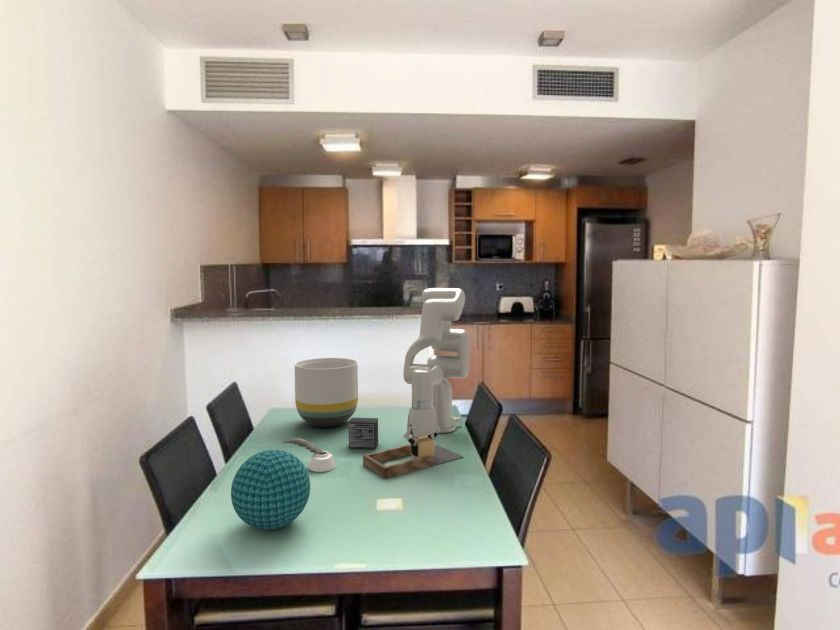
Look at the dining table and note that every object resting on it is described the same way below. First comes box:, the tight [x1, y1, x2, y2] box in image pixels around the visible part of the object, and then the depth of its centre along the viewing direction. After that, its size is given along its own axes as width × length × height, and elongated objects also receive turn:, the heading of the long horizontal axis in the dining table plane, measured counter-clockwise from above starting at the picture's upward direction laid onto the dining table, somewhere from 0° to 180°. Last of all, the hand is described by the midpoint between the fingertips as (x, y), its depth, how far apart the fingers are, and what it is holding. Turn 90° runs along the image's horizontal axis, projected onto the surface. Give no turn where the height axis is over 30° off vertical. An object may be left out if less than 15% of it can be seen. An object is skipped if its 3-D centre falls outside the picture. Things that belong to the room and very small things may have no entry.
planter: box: [294, 357, 359, 428], centre depth 227 cm, size 27×27×27 cm
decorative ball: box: [230, 449, 311, 531], centre depth 137 cm, size 20×20×20 cm
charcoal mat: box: [434, 444, 464, 466], centre depth 190 cm, size 12×15×1 cm
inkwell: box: [283, 437, 337, 473], centre depth 178 cm, size 9×18×10 cm, turn 91°
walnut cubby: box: [362, 443, 435, 480], centre depth 180 cm, size 20×14×4 cm
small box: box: [348, 417, 379, 450], centre depth 199 cm, size 11×6×10 cm, turn 84°
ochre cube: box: [410, 436, 435, 459], centre depth 186 cm, size 6×6×6 cm
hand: (422, 452), depth 186 cm, fingers closed on ochre cube, 6 cm apart
